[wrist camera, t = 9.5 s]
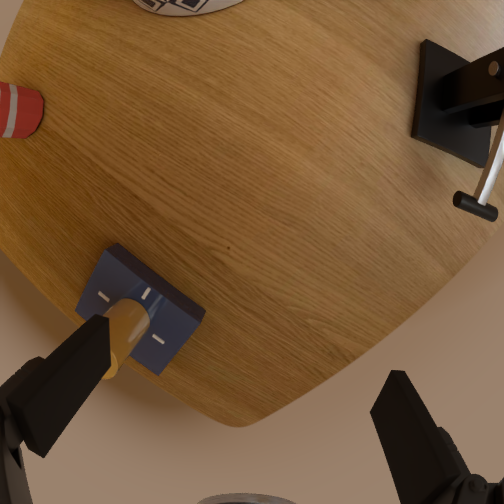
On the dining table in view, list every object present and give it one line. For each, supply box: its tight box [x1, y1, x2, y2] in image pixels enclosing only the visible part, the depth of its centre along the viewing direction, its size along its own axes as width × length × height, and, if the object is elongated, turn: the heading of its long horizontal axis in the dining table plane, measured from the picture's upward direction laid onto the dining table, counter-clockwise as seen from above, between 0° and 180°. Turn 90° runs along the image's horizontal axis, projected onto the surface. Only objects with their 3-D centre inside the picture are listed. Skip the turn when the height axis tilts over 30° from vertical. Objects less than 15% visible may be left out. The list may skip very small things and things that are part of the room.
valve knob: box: [101, 298, 150, 379], centre depth 25 cm, size 4×4×8 cm
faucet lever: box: [453, 108, 504, 222], centre depth 17 cm, size 14×5×2 cm, turn 168°
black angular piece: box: [411, 39, 504, 168], centre depth 19 cm, size 12×10×13 cm
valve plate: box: [75, 243, 206, 376], centre depth 31 cm, size 12×9×3 cm
